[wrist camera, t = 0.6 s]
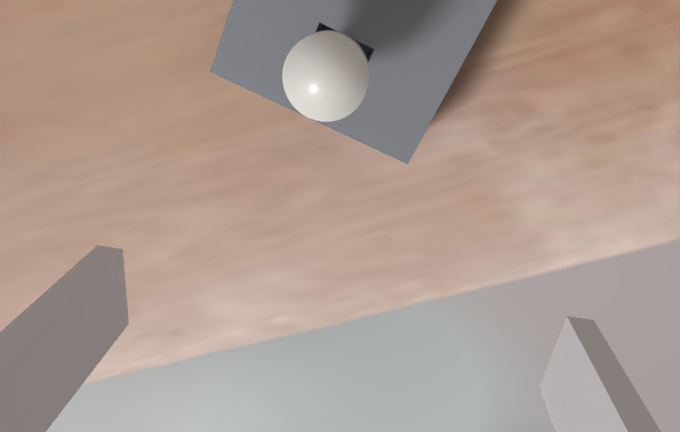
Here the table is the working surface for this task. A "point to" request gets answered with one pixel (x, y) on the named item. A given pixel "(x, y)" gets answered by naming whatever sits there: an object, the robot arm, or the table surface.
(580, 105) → the table surface
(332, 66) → the plunger
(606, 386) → the robot arm
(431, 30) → the console
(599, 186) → the table surface
